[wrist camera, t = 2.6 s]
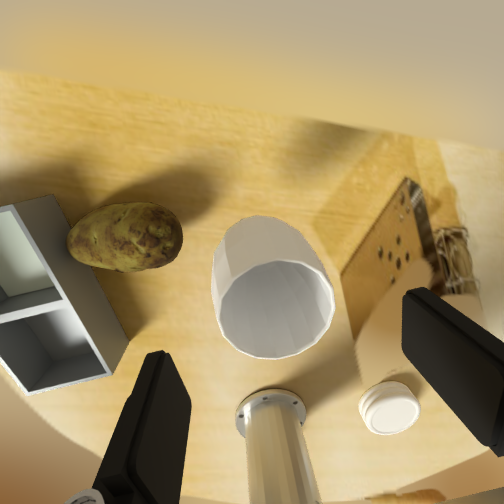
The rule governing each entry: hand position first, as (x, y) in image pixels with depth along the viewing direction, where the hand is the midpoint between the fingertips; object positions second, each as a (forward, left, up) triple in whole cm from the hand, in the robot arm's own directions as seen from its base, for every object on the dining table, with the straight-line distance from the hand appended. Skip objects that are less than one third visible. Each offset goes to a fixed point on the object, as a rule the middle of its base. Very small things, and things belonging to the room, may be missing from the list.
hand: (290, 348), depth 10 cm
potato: (+2, +14, -24) cm, 28 cm away
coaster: (-40, -17, -24) cm, 50 cm away
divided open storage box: (-3, +27, -24) cm, 36 cm away
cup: (0, 0, -24) cm, 24 cm away
